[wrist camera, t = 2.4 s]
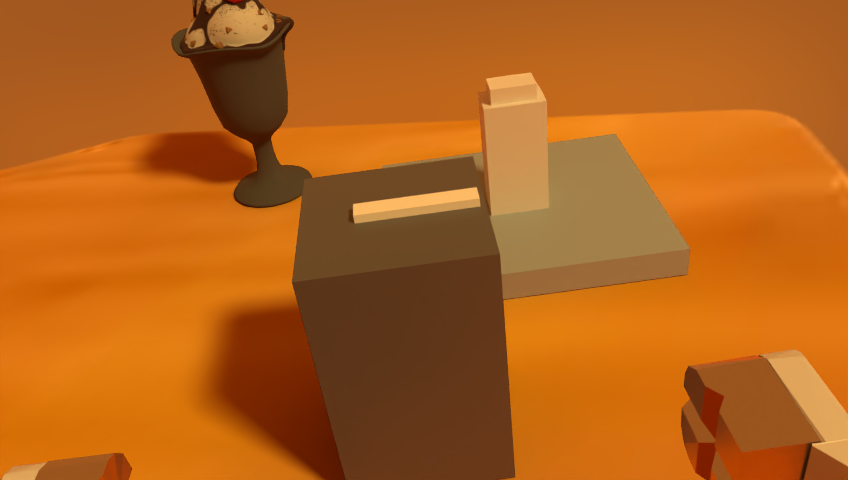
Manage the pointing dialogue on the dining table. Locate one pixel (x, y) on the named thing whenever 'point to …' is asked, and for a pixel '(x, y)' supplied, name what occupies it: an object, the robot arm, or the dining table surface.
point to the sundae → (245, 86)
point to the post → (565, 201)
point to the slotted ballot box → (407, 321)
